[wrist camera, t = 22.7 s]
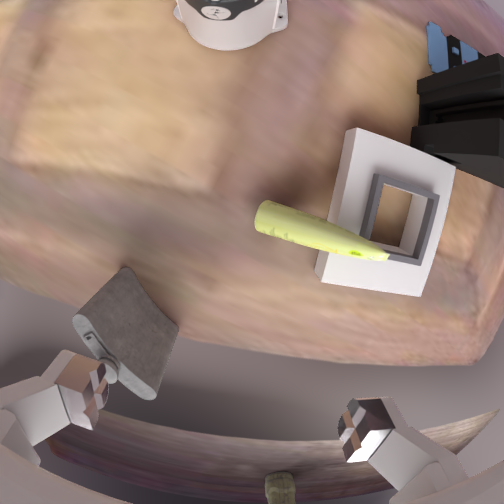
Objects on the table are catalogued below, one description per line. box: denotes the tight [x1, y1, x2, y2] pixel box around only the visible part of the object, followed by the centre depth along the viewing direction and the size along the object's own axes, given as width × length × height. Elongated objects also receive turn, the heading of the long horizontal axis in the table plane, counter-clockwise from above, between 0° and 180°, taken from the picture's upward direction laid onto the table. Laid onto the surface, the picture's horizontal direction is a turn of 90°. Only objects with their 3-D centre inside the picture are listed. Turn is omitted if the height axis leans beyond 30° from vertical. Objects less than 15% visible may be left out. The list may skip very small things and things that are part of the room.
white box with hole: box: [314, 128, 456, 297], centre depth 43 cm, size 24×20×7 cm
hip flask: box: [72, 267, 179, 400], centre depth 41 cm, size 16×4×20 cm, turn 33°
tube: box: [255, 200, 390, 261], centre depth 40 cm, size 6×5×20 cm
